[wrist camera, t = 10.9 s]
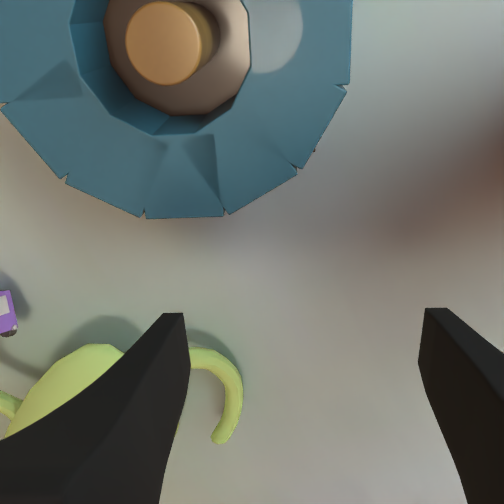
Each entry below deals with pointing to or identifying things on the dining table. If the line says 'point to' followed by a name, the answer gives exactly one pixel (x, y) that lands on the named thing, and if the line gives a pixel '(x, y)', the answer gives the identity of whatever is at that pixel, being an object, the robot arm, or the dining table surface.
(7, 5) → the ring
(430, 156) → the dining table surface
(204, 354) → the figurine
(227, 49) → the peg stand
